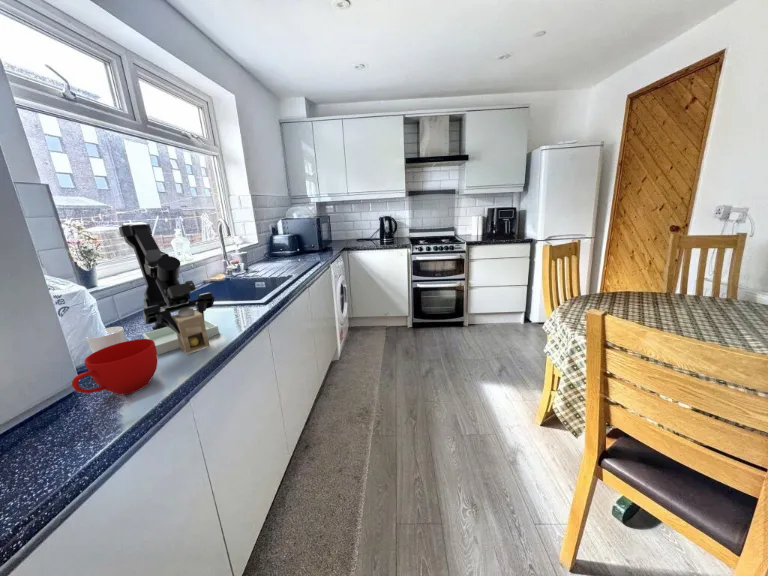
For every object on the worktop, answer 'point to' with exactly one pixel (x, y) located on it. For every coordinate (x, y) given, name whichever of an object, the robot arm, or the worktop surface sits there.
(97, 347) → the white cup
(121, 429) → the worktop surface
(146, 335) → the tray
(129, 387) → the ceramic cup
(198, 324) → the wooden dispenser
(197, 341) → the ball
